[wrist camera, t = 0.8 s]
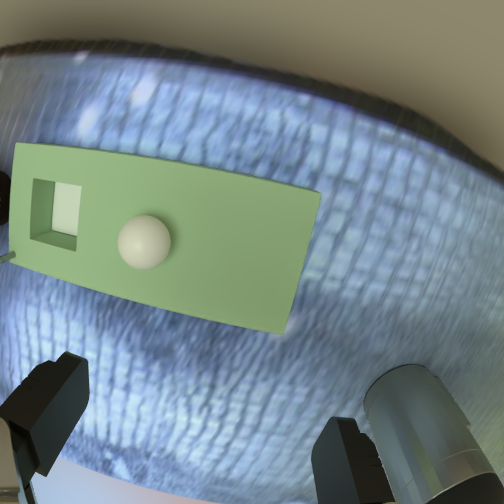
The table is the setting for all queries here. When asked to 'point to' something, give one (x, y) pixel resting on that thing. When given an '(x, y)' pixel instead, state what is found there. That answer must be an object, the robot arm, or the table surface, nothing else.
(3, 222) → the coffee mug
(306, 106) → the table surface
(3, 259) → the pin
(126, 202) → the green
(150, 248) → the ball
